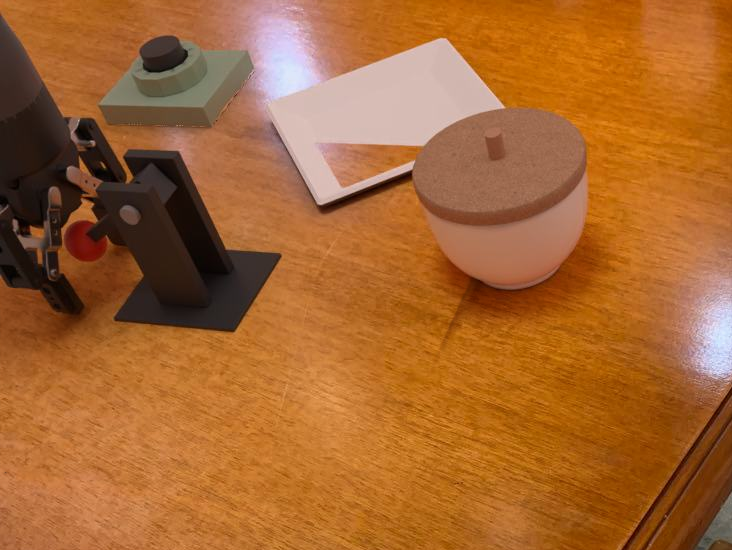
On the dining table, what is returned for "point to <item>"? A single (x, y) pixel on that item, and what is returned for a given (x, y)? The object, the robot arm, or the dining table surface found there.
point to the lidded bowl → (505, 194)
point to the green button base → (178, 89)
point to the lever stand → (180, 252)
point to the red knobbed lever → (110, 220)
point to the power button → (162, 54)
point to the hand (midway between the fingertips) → (99, 276)
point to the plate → (378, 112)
